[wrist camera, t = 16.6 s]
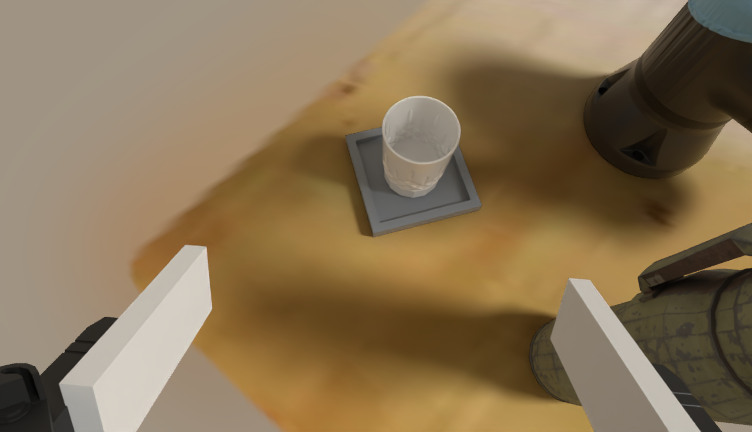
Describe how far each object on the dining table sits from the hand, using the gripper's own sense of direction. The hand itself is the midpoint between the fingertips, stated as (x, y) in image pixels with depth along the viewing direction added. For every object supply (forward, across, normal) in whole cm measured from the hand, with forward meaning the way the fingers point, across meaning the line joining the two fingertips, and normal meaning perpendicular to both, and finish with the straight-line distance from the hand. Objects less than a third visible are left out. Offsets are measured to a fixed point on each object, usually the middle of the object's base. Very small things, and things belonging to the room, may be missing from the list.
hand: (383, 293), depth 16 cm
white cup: (+38, +3, -8) cm, 39 cm away
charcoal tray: (+38, +3, -8) cm, 39 cm away
